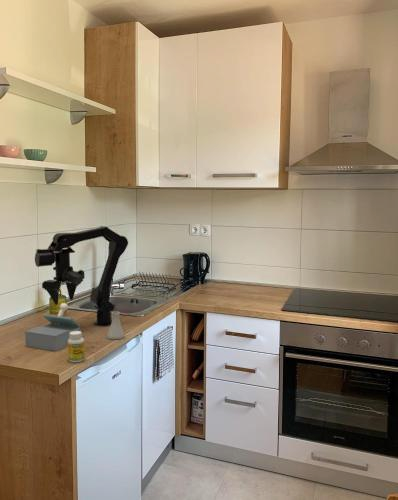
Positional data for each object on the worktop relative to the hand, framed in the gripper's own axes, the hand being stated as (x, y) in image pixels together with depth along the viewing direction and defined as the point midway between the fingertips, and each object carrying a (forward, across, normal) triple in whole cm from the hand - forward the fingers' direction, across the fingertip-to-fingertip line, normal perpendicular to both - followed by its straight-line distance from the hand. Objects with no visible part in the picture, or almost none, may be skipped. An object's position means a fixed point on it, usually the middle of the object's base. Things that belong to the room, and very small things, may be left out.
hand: (64, 302), depth 185 cm
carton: (+12, -14, -6) cm, 19 cm away
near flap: (+5, -10, -6) cm, 12 cm away
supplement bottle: (+12, -25, -25) cm, 37 cm away
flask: (+12, +1, -24) cm, 27 cm away
